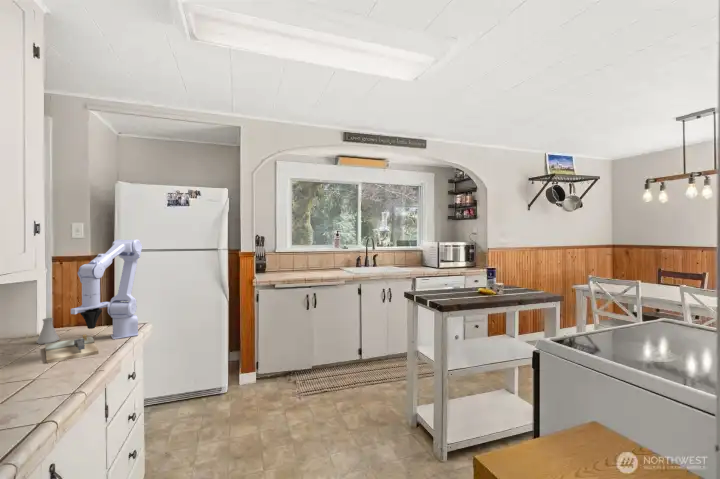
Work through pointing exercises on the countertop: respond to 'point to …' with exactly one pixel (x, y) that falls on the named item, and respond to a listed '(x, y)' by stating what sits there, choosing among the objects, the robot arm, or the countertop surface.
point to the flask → (47, 332)
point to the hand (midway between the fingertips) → (91, 328)
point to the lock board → (69, 350)
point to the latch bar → (79, 343)
